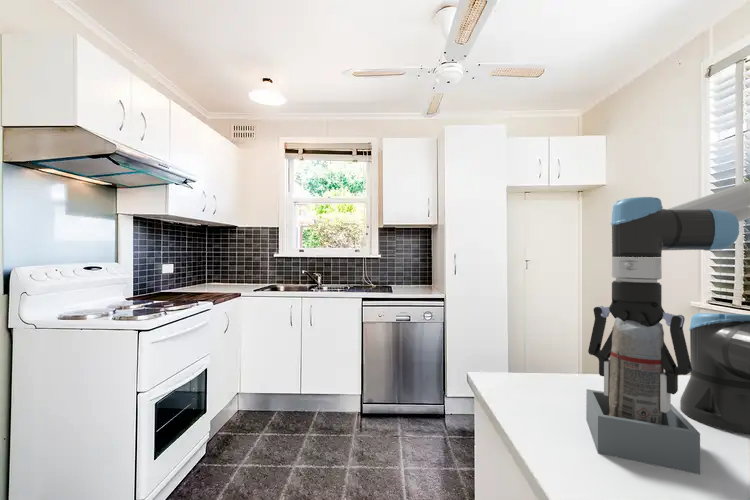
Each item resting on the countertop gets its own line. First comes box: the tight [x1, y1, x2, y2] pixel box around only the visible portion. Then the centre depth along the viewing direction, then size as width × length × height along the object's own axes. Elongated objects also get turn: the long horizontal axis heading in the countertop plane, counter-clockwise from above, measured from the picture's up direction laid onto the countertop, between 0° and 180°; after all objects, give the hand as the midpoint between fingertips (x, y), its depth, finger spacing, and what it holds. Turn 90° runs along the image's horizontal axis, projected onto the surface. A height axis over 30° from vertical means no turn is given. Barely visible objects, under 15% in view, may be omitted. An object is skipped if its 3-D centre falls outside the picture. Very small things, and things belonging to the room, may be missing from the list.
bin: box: [585, 389, 701, 475], centre depth 65 cm, size 14×14×6 cm
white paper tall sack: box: [608, 317, 665, 424], centre depth 66 cm, size 8×8×20 cm
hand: (635, 401), depth 65 cm, fingers closed on white paper tall sack, 8 cm apart
